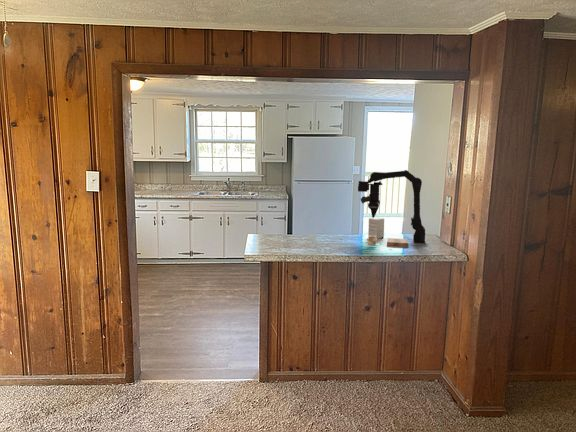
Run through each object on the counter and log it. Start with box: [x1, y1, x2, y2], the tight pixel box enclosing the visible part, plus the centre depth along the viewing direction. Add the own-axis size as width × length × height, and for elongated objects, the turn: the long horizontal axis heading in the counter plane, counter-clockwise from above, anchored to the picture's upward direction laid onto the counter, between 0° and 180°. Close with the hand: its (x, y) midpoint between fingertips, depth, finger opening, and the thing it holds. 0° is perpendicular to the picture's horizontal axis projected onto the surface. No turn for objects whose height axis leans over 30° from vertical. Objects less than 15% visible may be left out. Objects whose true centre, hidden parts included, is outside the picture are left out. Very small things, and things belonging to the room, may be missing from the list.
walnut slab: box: [386, 237, 409, 248], centre depth 249 cm, size 12×12×3 cm
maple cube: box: [367, 235, 377, 245], centre depth 253 cm, size 4×4×4 cm
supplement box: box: [367, 217, 385, 240], centre depth 271 cm, size 7×7×13 cm
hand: (373, 216), depth 263 cm, fingers open, 9 cm apart
